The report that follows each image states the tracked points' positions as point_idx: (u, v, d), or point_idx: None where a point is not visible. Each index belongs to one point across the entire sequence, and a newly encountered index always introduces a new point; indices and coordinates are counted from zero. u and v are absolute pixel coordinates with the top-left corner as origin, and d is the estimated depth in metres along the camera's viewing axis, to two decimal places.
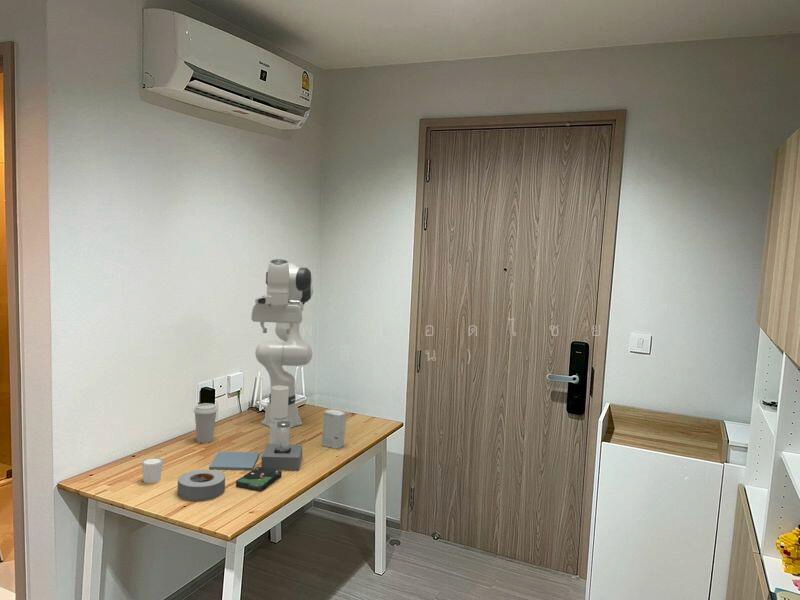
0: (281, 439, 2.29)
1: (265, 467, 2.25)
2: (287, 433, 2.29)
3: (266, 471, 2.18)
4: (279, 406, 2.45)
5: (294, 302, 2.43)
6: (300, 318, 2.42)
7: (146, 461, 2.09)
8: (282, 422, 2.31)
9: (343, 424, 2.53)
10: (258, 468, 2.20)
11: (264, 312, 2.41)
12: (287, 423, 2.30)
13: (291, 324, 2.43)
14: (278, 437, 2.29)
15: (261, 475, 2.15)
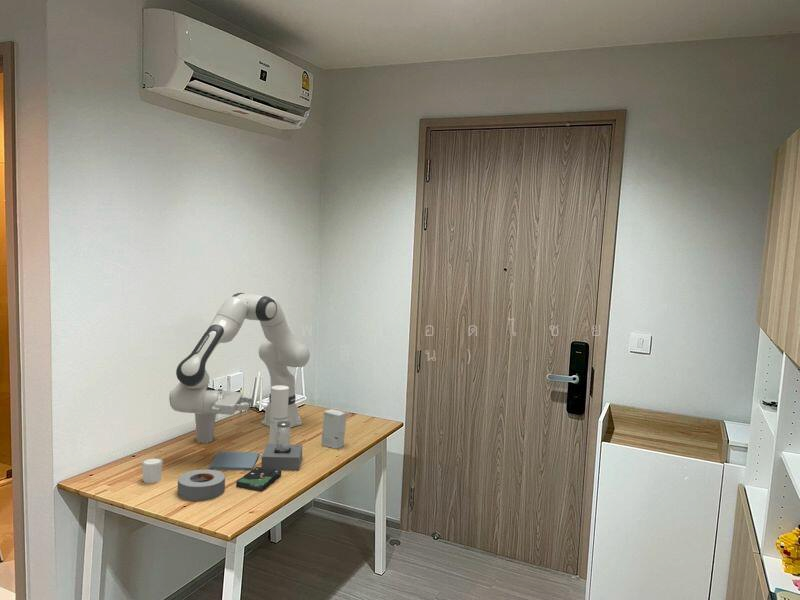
0: (281, 439, 2.29)
1: (265, 467, 2.25)
2: (287, 433, 2.29)
3: (266, 471, 2.18)
4: (279, 406, 2.45)
5: None
6: None
7: (146, 461, 2.09)
8: (282, 422, 2.31)
9: (343, 424, 2.53)
10: (257, 468, 2.20)
11: None
12: (287, 423, 2.30)
13: None
14: (278, 437, 2.29)
15: (260, 475, 2.15)
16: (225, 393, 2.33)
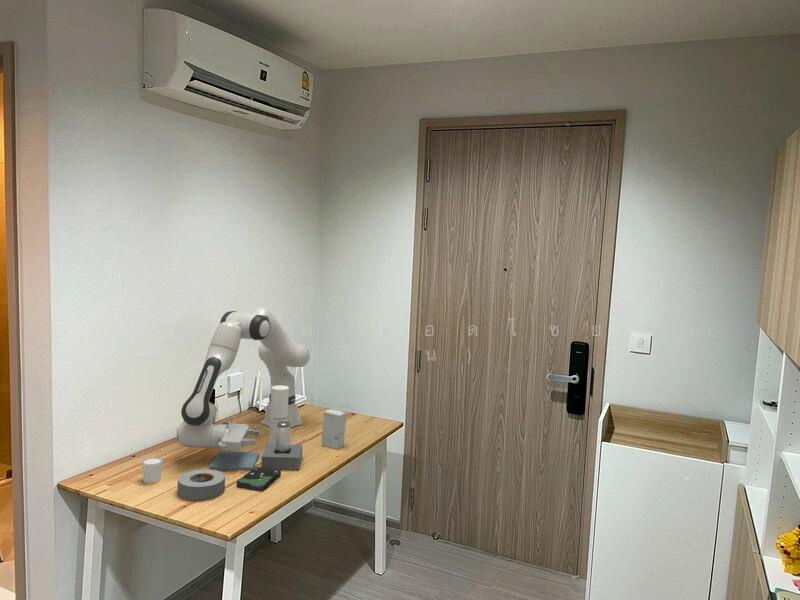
0: (281, 439, 2.29)
1: (265, 467, 2.25)
2: (287, 433, 2.29)
3: (265, 471, 2.18)
4: (279, 406, 2.45)
5: None
6: None
7: (146, 461, 2.09)
8: (282, 422, 2.31)
9: (343, 424, 2.53)
10: (257, 468, 2.20)
11: None
12: (287, 423, 2.30)
13: None
14: (278, 437, 2.29)
15: (260, 474, 2.15)
16: (232, 426, 2.35)
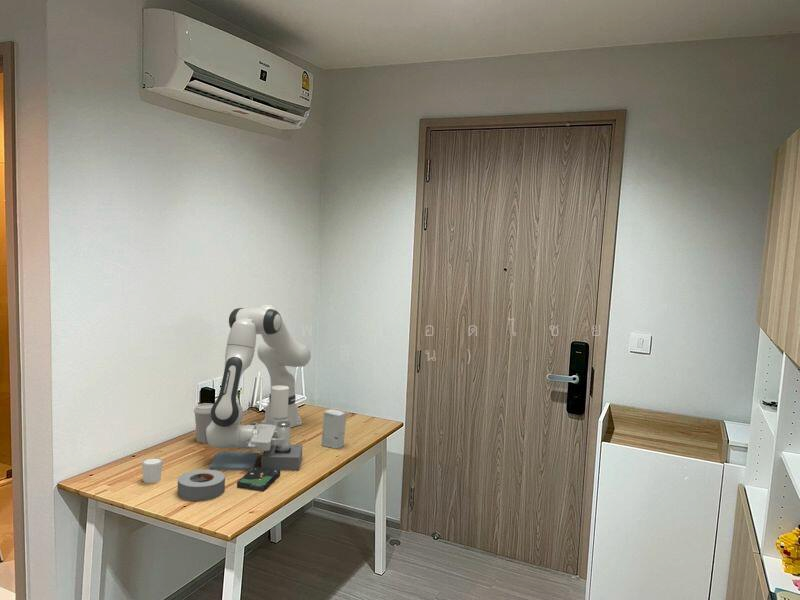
0: None
1: (265, 467, 2.25)
2: (287, 433, 2.29)
3: (265, 471, 2.18)
4: (279, 406, 2.45)
5: None
6: (263, 450, 2.21)
7: (146, 461, 2.09)
8: (282, 422, 2.31)
9: (343, 424, 2.53)
10: (256, 468, 2.20)
11: None
12: (287, 423, 2.30)
13: None
14: (278, 437, 2.29)
15: (260, 474, 2.15)
16: (259, 427, 2.36)
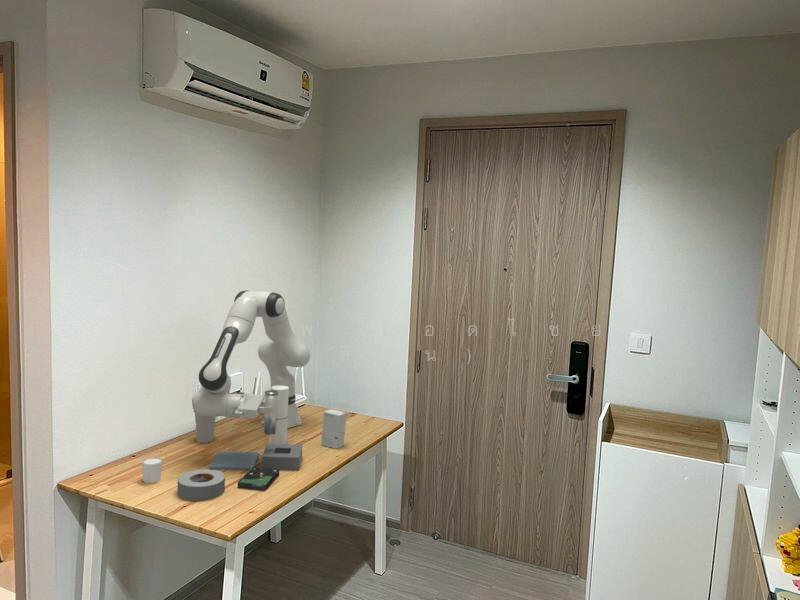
0: None
1: (265, 467, 2.25)
2: (275, 402, 2.28)
3: (264, 470, 2.18)
4: (279, 406, 2.45)
5: None
6: None
7: (146, 461, 2.09)
8: (270, 391, 2.29)
9: (343, 424, 2.53)
10: (255, 468, 2.20)
11: None
12: (275, 392, 2.29)
13: None
14: (266, 406, 2.27)
15: (260, 474, 2.15)
16: (247, 396, 2.34)
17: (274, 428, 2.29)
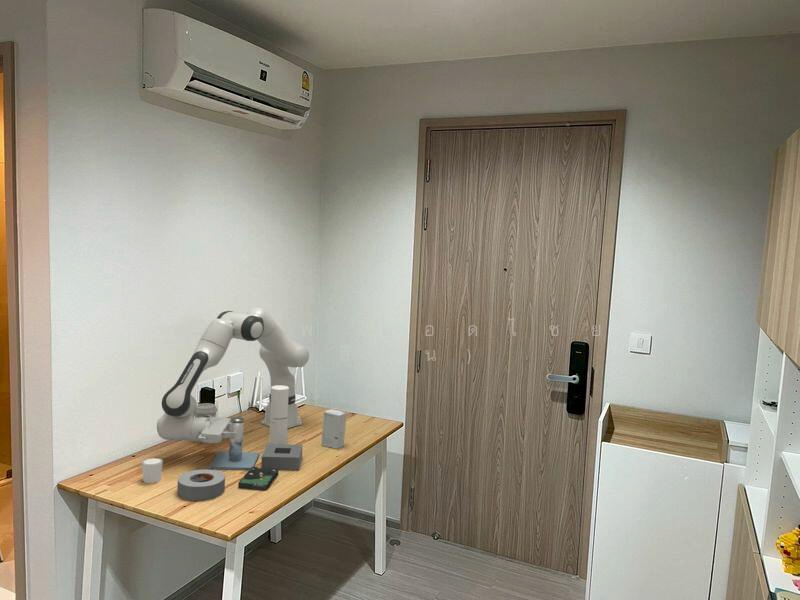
0: None
1: (265, 467, 2.25)
2: (240, 429, 2.28)
3: (263, 470, 2.18)
4: (279, 406, 2.45)
5: None
6: (214, 442, 2.20)
7: (146, 461, 2.09)
8: (236, 418, 2.29)
9: (343, 424, 2.53)
10: (254, 468, 2.20)
11: None
12: (241, 419, 2.29)
13: None
14: None
15: (260, 474, 2.15)
16: (213, 419, 2.34)
17: (239, 455, 2.29)
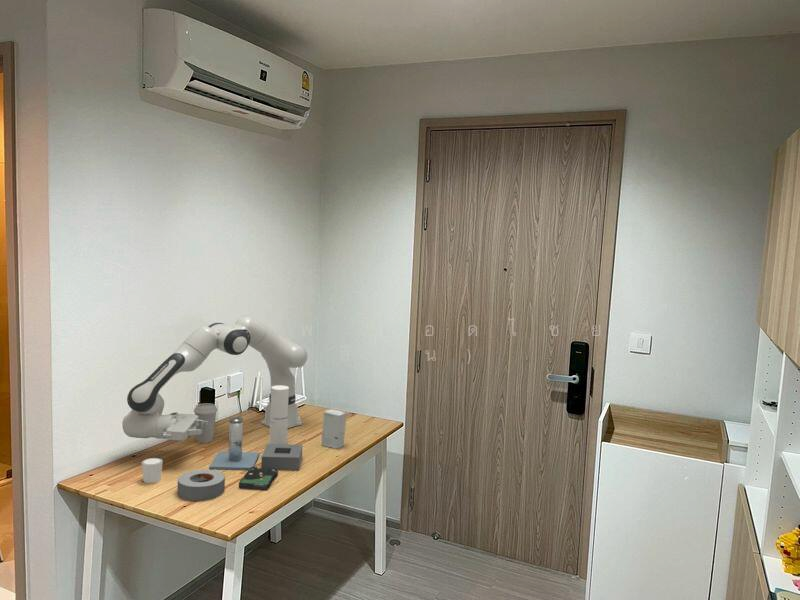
0: (233, 435, 2.27)
1: (265, 467, 2.25)
2: (239, 429, 2.28)
3: (263, 470, 2.19)
4: (279, 406, 2.45)
5: None
6: (179, 440, 2.19)
7: (146, 461, 2.09)
8: (235, 418, 2.29)
9: (343, 424, 2.53)
10: (253, 468, 2.20)
11: None
12: (240, 419, 2.29)
13: None
14: (230, 433, 2.27)
15: (260, 474, 2.15)
16: (180, 417, 2.33)
17: (239, 455, 2.29)
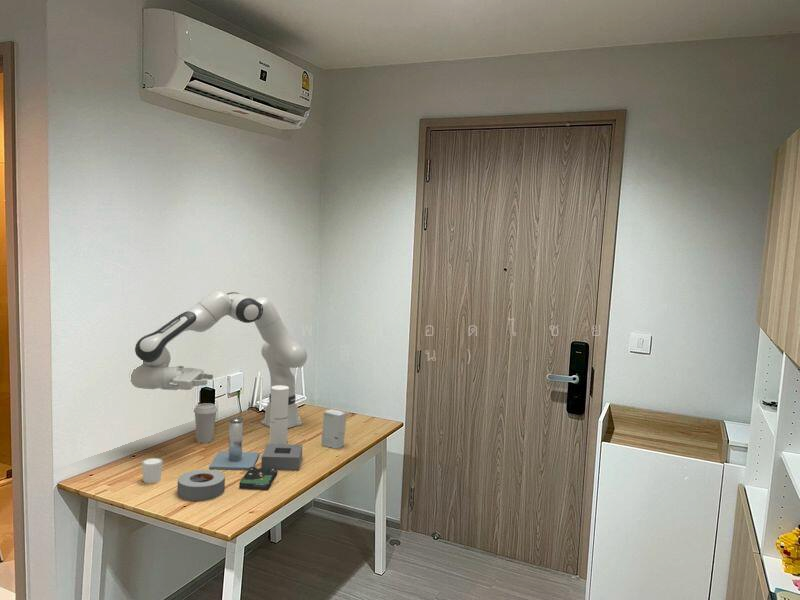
0: (233, 435, 2.27)
1: (265, 467, 2.25)
2: (239, 429, 2.28)
3: (262, 470, 2.19)
4: (279, 406, 2.45)
5: None
6: (185, 389, 2.25)
7: (146, 461, 2.09)
8: (235, 418, 2.29)
9: (343, 424, 2.53)
10: (252, 468, 2.20)
11: None
12: (239, 419, 2.29)
13: None
14: (230, 433, 2.27)
15: (259, 474, 2.15)
16: (185, 370, 2.39)
17: (239, 455, 2.29)
